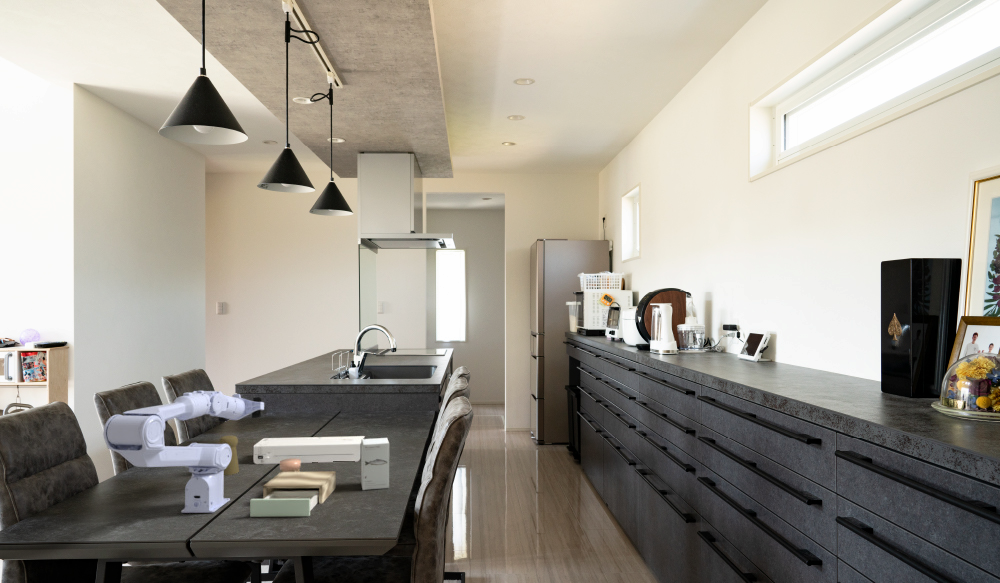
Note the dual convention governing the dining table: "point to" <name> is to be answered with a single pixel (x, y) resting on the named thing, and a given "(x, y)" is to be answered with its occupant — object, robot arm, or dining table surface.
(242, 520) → the dining table surface
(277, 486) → the block
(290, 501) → the tray
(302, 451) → the laminator
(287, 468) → the disc
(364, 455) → the supplement box
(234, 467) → the pepper mill
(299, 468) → the pedestal
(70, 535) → the dining table surface
